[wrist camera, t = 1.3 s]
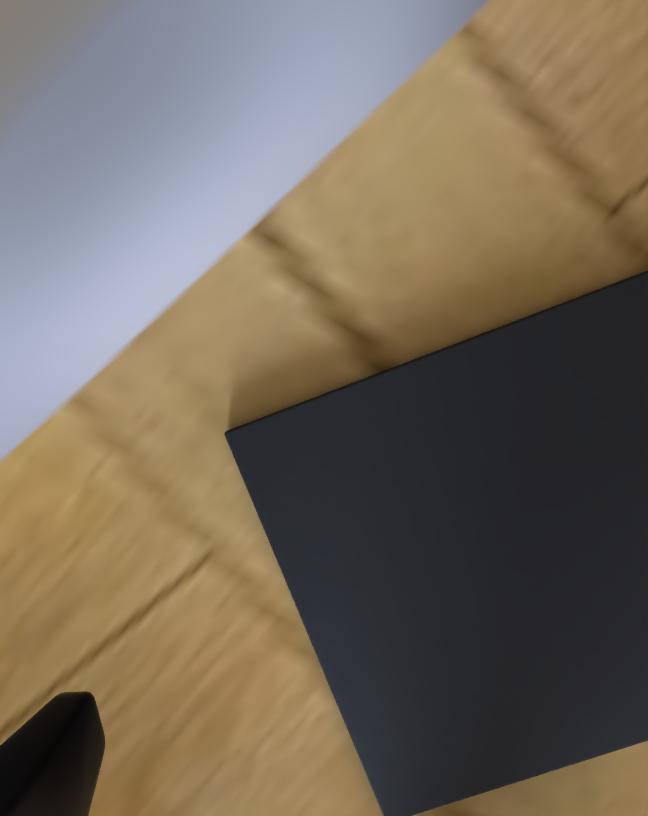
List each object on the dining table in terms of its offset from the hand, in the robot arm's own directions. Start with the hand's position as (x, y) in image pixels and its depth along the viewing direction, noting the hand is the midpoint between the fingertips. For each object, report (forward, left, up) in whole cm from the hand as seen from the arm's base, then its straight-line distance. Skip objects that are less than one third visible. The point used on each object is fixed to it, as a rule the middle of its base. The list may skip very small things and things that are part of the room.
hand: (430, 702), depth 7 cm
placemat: (-6, -6, -15) cm, 17 cm away
